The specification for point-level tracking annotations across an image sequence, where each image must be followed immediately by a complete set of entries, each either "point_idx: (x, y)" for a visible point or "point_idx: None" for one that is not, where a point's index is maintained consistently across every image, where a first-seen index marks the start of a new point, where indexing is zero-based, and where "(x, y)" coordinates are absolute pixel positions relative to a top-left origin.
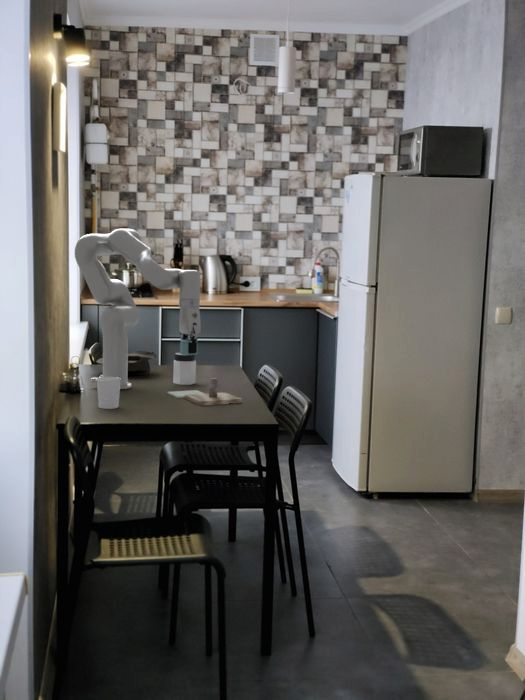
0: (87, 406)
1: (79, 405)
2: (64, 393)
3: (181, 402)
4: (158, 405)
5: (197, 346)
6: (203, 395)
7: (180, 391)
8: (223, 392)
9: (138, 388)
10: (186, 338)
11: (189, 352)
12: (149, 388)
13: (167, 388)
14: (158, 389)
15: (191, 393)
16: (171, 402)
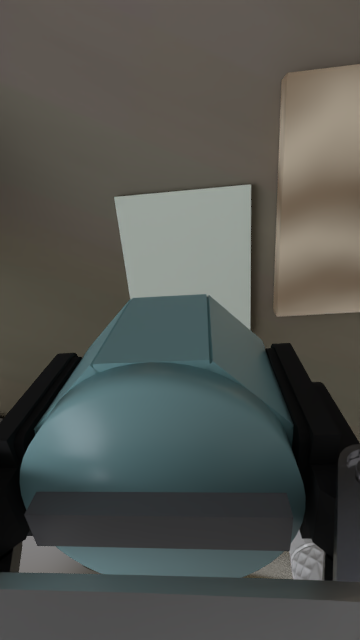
0: (281, 569)
1: (261, 577)
2: (89, 568)
3: (341, 346)
4: (355, 430)
5: (215, 337)
6: (331, 241)
7: (138, 287)
8: (292, 85)
9: (17, 399)
10: (67, 537)
11: None
12: (17, 366)
13: (18, 301)
14: (41, 342)
15: (197, 255)
16: (323, 379)
